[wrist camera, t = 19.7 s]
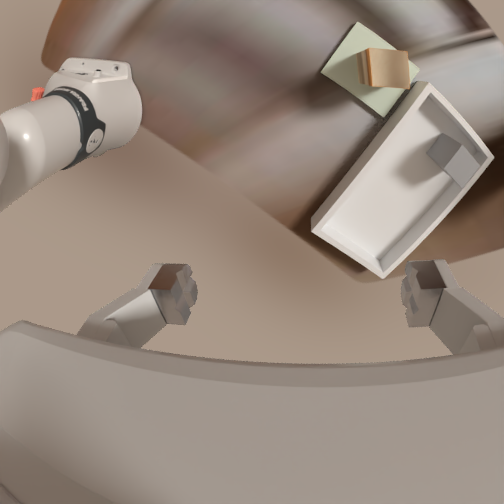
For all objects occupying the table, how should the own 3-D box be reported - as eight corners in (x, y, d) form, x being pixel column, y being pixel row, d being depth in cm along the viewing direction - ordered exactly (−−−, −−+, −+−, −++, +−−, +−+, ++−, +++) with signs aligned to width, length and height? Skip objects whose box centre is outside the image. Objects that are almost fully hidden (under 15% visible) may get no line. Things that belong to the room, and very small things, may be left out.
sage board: (320, 72, 34) (320, 72, 33) (356, 22, 28) (357, 21, 27) (382, 116, 36) (383, 117, 35) (417, 69, 30) (419, 69, 29)
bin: (311, 217, 48) (311, 231, 44) (417, 80, 31) (428, 82, 27) (378, 263, 50) (383, 279, 47) (480, 148, 34) (494, 157, 30)
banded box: (358, 83, 33) (372, 86, 26) (355, 53, 30) (368, 47, 23) (389, 85, 32) (410, 89, 25) (386, 55, 29) (407, 51, 22)
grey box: (425, 153, 36) (443, 168, 31) (442, 132, 34) (462, 144, 28) (443, 171, 37) (462, 188, 31) (459, 151, 34) (480, 166, 29)
